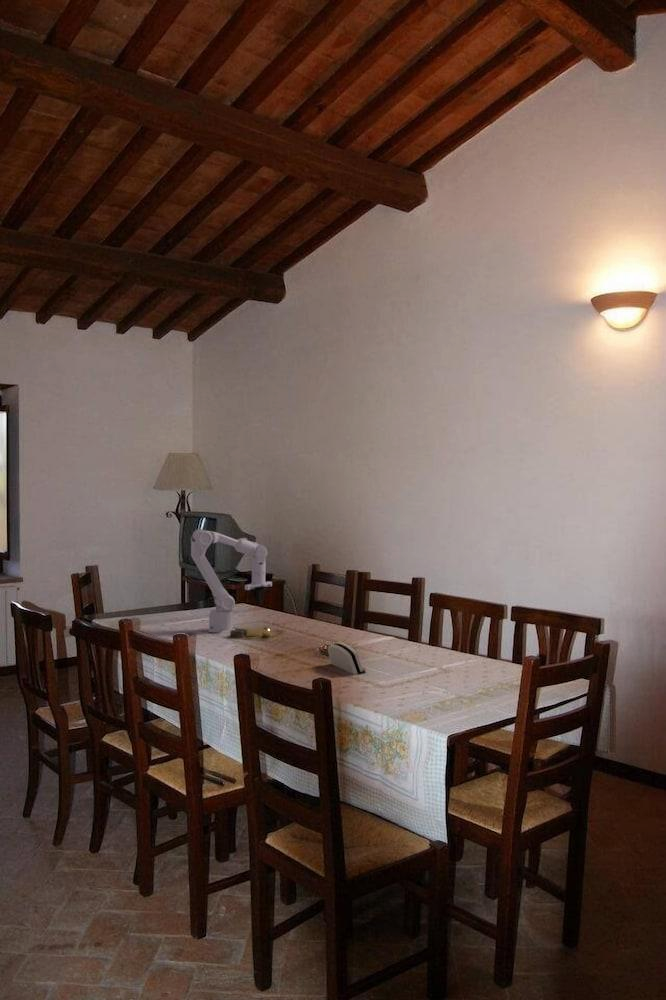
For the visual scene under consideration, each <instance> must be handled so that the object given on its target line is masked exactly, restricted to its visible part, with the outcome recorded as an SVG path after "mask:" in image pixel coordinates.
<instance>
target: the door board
mask: <svg viewBox="0 0 666 1000" xmlns="http://www.w3.org/2000/svg"><path fill="white" fill-rule="evenodd" d="M251 628H252V627H251ZM252 629H259V628H256V627H255V628H254V627H253V628H252ZM229 631H230V635H229V636H226V638H225V639H227V640H228V639H229V640H242V641H256V642H257V641H258V642H260V641H261V642H275V641H276V639H278V638H279V637H280V636H282V635H283V634H284V633H285V632H287V630H286V629H273V628H270V637H260V636H246V635H244V631H239V630H235V629H232V630H229Z"/></svg>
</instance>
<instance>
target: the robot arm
mask: <svg viewBox="0 0 666 1000" xmlns="http://www.w3.org/2000/svg"><path fill="white" fill-rule="evenodd" d="M215 543H221V544H224V545H228V546H231V547H234V550H235V551H236V552H238V553H242V554H244V555H247V556H249V557H250V556H251V583H248V584H244V590H245V591H249V592H251V594H252V595H253V596H252V597H253V599H254V603H255V606H262V603H263V601H264V596H265V594H266V592H267V590H268V589H267V588H268V587H273V581H266V571H267V570H266V564H267V563H266V557H267V556H268V553H269V552H268V549H267V547H266V546H264V545H262V544H259V543H258V542H256V541H250V540H248V538H247V537H243V538H242V537H241V538H238V539H236V538H233V537H229V536H227V535H224V534H222V533H219V532H217V531H213V530H212V531H211V530H208V529H207V530H204V529H203V528H202V529H201V528H197V529H195V530H194V531H193V533H192V534H191V537H190V555H191V558H192V560H193V561H194V563H195V565H196V567H197V569H198V571H199V572H200V574H201V576H202V577H203V579H204V580H205V582H206V584H207V585H208V588H209V589H210V590H211V594H212V596H213V601H214V604H215V609H210V612H209V621H208V633H218V634H220V633H222V632H224V631H231V630H234V629H233V628H234V626H233V625H234V608H235V605H236V601H235V599H234V597H233V596H232V595H230V594H229V592H228V591H227V590H226V588H224V586H223V584H222V583H221V581H220V579H219V577H218V575H216V573H215V570H214V568H213V567H212V566H211V563H210V562H209V561H208V558H207V557H206V553H207V549H208V548H209V547H210V546H211V544H215Z"/></svg>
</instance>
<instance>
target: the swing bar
mask: <svg viewBox="0 0 666 1000" xmlns="http://www.w3.org/2000/svg"><path fill="white" fill-rule="evenodd" d="M270 629H271V628H270V627H267V626H266V627H265V626H264V627H262V628H258V629H252V627H236V628H234V630H239V631H244V635H246V636H260V637H270Z"/></svg>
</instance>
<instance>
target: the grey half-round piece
mask: <svg viewBox="0 0 666 1000" xmlns="http://www.w3.org/2000/svg"><path fill="white" fill-rule="evenodd" d="M327 653H328V657H329V661H330V664H331V665H332V666H334V667H337V668H339V669H342V670H343V671H346V672H348V673H351V674H353V675H355V676H356V675H358V673H364V674H367V673H368V672H367V669H366V667H364V666H362V663H361V660H360V657H359V655H358V652H357V651H356V650H355V649H354V648H353V647H351V646H350V645H349V644H347V643H344V642H340V641H339V642H336V643H332V644H330V645H329V646H328V647H327Z"/></svg>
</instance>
